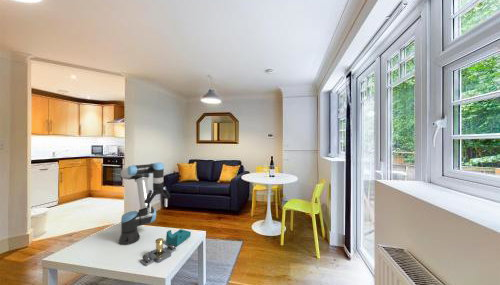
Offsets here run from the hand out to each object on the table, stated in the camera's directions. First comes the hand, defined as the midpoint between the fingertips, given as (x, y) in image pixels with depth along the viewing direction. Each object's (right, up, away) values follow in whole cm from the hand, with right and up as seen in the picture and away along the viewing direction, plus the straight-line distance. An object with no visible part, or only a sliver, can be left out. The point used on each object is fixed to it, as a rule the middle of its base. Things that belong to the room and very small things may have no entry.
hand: (157, 209), depth 156 cm
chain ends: (+6, -31, -11) cm, 34 cm away
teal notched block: (+12, -31, +12) cm, 35 cm away
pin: (+6, -31, -11) cm, 34 cm away
